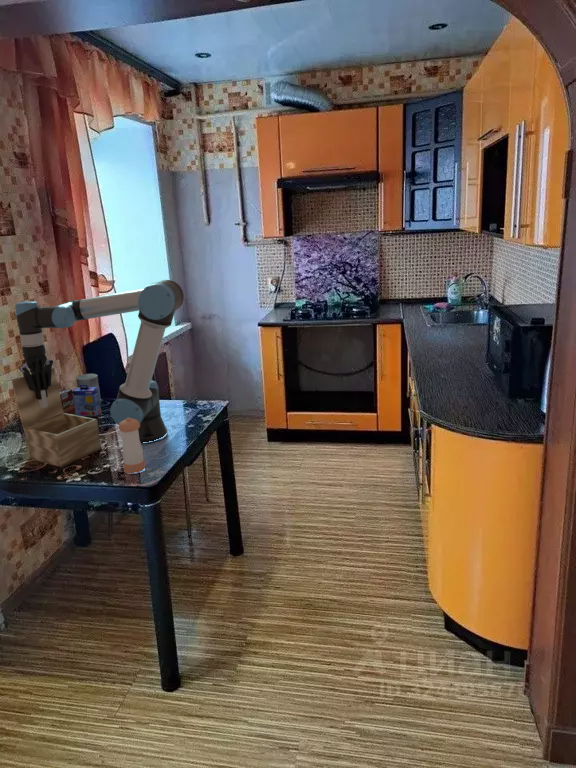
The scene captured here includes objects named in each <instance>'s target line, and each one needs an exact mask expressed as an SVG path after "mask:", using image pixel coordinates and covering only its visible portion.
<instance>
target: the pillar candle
mask: <svg viewBox="0 0 576 768" xmlns="http://www.w3.org/2000/svg"><path fill="white" fill-rule="evenodd" d="M75 381H76V385H77V386H76V388H80V386H79V385H87V386H88V387H97V388H98V393H99V400H100V404H101V403H102V401H101V400H102V399H101V393H100V392H101V391H100V386H99V377H98V374H96V373H85V374H83V373H82V374H81V375H77V376H76V377H75ZM81 387H86V386H81Z"/></svg>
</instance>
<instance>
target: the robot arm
mask: <svg viewBox="0 0 576 768" xmlns="http://www.w3.org/2000/svg"><path fill="white" fill-rule="evenodd" d="M184 298H185V294H184V290H183V288H182V287H181V285H180V284H179V283H177V282H176V281H174V280H172V279H171V280H170V279H163V280H159V281H158V282H152V283H150V284H147V285H146V286H145V287H144V288H141V289H140V288H139V289H135V290H129V291H123V292H117V293H116V292H115V293H112V294H106V295H100V296H94V297H89V298H83V299H73V300H69V301H67V302H65V303H64V302H63V303H61V304H57V305H54V306H39V304H38V302H37V301H35V300H33V301H32V300H28V301H26V300H25V301H20V302H16V303H15V305H14V309H15V317H16V320H17V321H16V322H17V327H18V330H19V331H18V332H19V338H20V342H21V350H22V355H23V358H24V361H23V362H24V364H23V365H22V366H19V368H18V370H19V371H20V372H21V373H22V375H23V376H24V378H25V380H26V382H27V385H28V387H29V389H30V390H32V391H35V393H36V398H37V399H38V400H39V406H40V407H42V408H46V407H48V404H47V398H46V397H48V395H47V390H48V387H49V386H51V371H52V368H53V363H54V360H53V359H49V358H48V357H47V356H46V346H45V344H44V343H45V340H44V333H43V329H64V328H66V329H67V328H71V327H72V326H73V325H74V324H75V322H79V321H85V320H91V319H96V318H101V317H107V316H108V317H109V316H113V315H120V314H121V315H122V314H127V313H132V312H138V313H137V314H138V315H137V317H138V319H139V320H140V324H139V329H138V332H137V337H136V340H135V345H134V348H133V351H132V356H131V360H130V363H129V368H128V371H127V374H126V379H125V382H124V383H122V384H121V385H119V389H118V393H117V396H116V400H114V401H113V403H112V404H111V406H110V408H109V409H110V410H109V411H110V417H111V418H112V420H113V422H115V424H117V425H118V426H119V424H120V422H121V421H123V420H126V419H127V418H131V419H136V420H138V421H139V423H140V427H139V429H138V432H139V440H140V443H143V442H149V441H154V440H156V439H159V438H161V437H163V436H164V435H165V434H166V433H167V434H168V429H167V427H166V426H165V422H164V420H163V418H162V412H161V404H160V403H161V402H160V394H159V387H158V383H157V382H156V381H155V380H153V376H154V373H155V368H156V365H157V362H158V358H159V353H160V350H161V346H162V342H163V339H164V335H165V331H166V330H167V328H169V327H171V326H172V323H173V319H174V316H175V312H176V311H177V310H178V309H180V308H181V306H182V305H183V303H184V300H185V299H184ZM31 375H32V377H31Z"/></svg>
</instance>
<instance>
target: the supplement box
mask: <svg viewBox="0 0 576 768" xmlns="http://www.w3.org/2000/svg"><path fill="white" fill-rule="evenodd" d="M59 393H60V398H61V402H62V407H63V412H64V413H67V414H72V415H76V410H75V404H74V398H73V389H68V388H62V389H61V390H59ZM62 414H63V413H62ZM59 415H60V414H59ZM56 416H58V415H56Z"/></svg>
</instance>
